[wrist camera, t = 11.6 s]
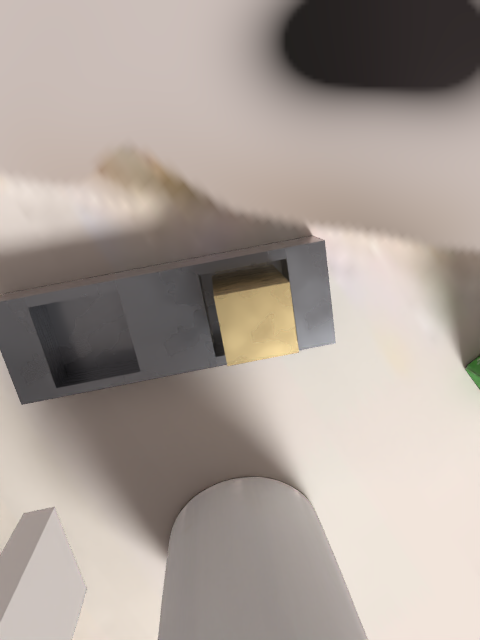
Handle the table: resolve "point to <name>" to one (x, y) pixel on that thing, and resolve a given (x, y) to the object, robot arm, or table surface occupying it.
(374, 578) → the table surface
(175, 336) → the grey slotted tray
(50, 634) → the robot arm
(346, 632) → the utensil holder
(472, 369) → the ink box
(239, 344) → the block
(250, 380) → the table surface
